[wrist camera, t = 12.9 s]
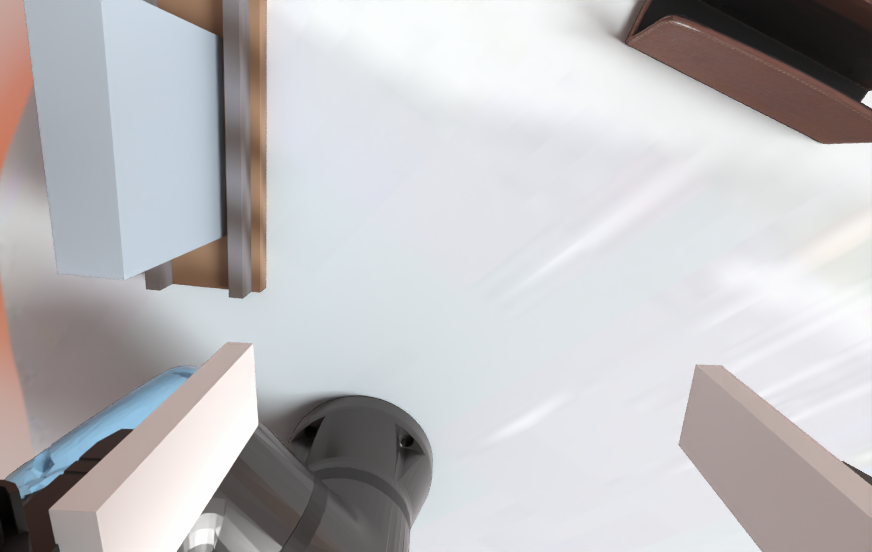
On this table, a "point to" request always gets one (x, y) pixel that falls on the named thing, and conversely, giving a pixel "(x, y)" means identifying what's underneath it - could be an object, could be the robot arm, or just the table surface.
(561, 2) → the table surface
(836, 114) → the letter holder
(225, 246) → the floor track
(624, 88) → the table surface
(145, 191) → the sliding panel
